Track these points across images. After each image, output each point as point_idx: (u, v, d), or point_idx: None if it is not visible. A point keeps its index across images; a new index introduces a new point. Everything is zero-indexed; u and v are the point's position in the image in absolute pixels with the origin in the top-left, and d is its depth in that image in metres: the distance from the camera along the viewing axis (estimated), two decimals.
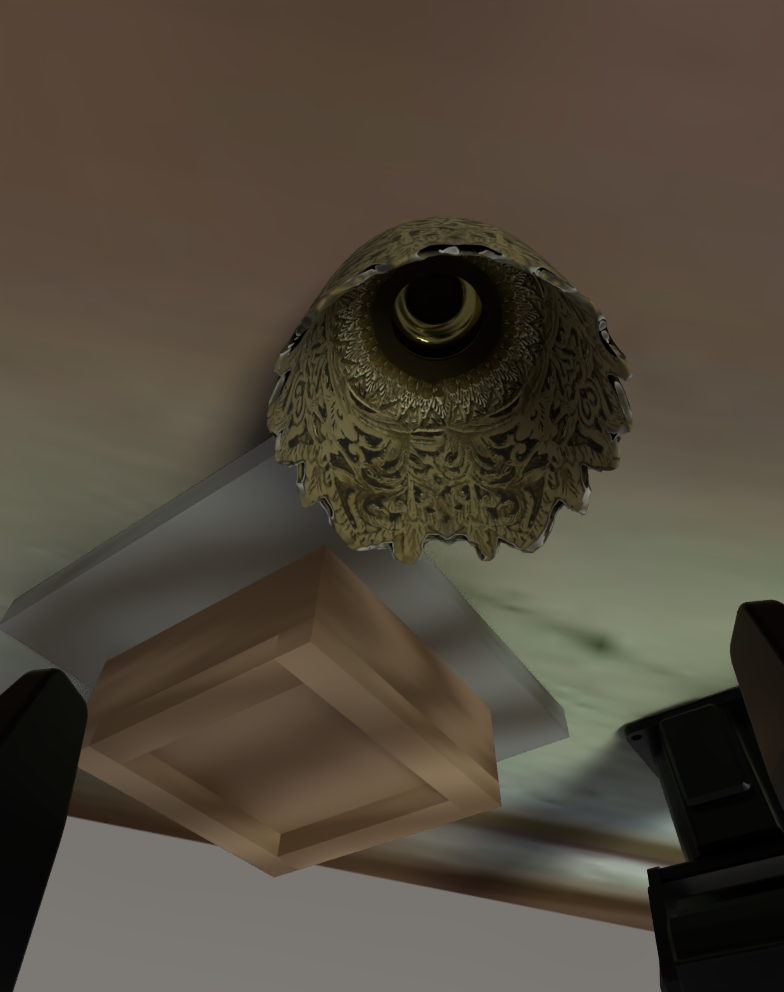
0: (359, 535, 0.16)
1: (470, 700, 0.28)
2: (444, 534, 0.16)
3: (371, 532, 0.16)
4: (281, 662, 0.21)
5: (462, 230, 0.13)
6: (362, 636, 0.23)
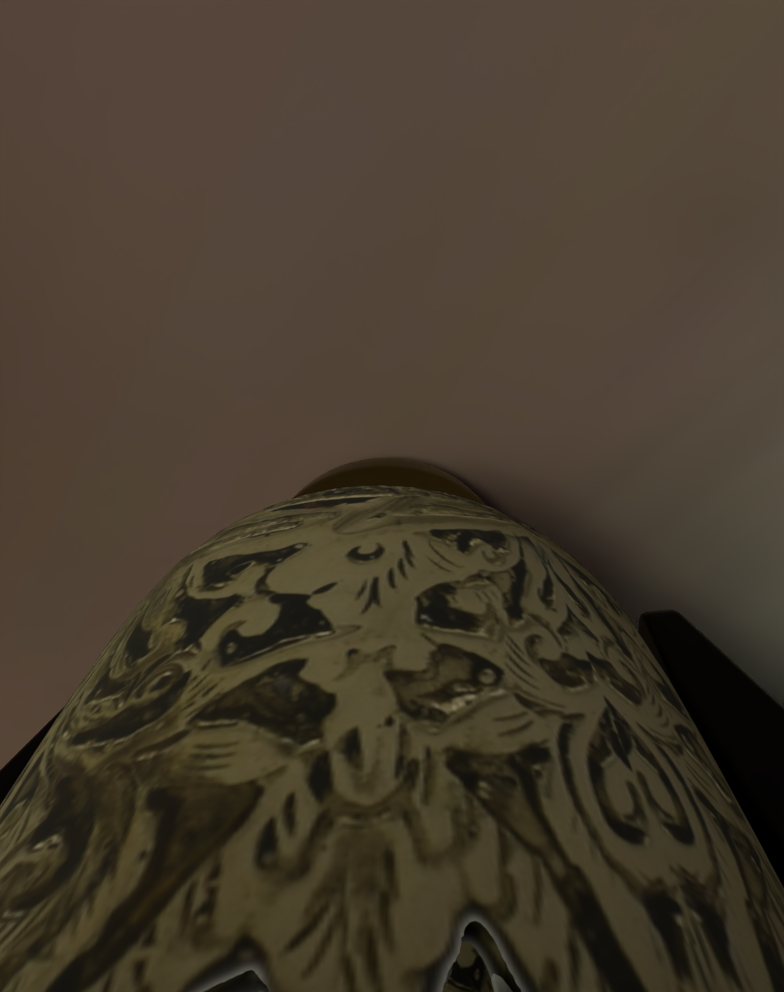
0: None
1: None
2: None
3: None
4: None
5: None
6: None
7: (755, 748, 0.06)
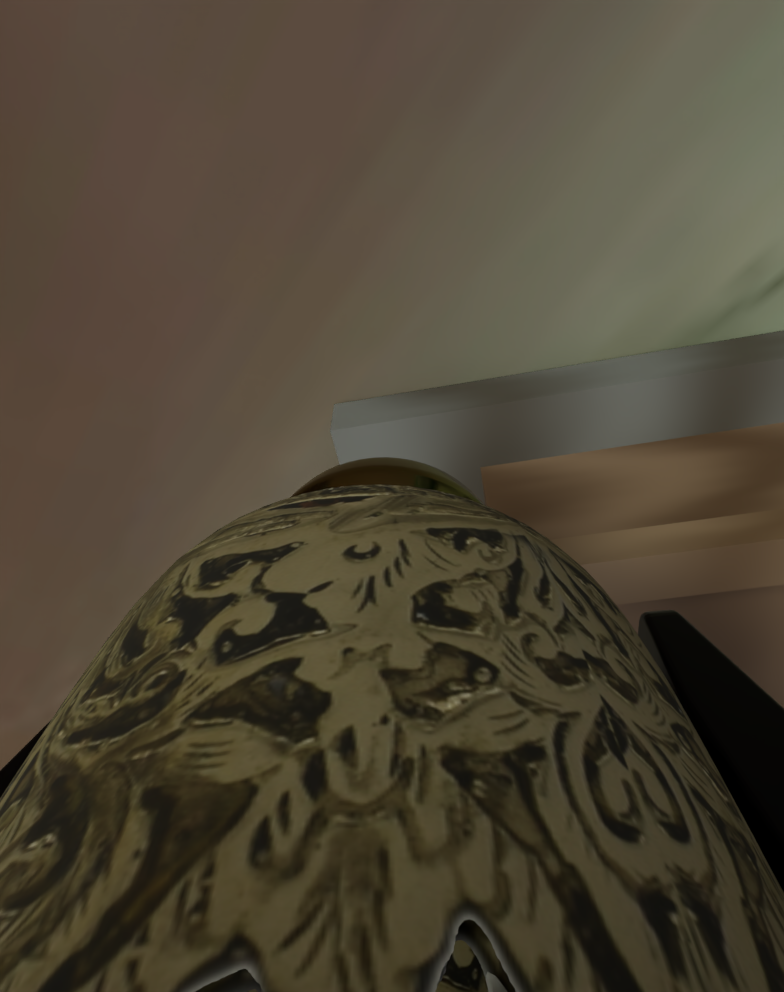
0: None
1: None
2: None
3: None
4: None
5: None
6: (588, 508, 0.17)
7: (755, 748, 0.06)
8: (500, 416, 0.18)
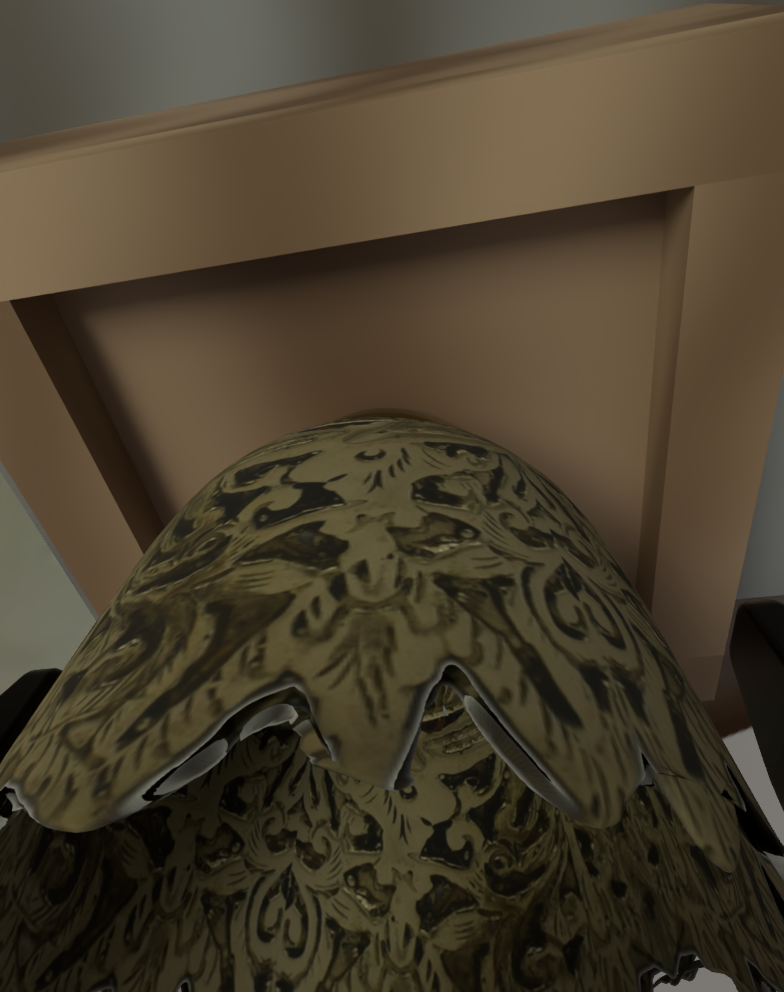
0: None
1: (595, 28, 0.10)
2: (663, 963, 0.07)
3: None
4: None
5: None
6: (85, 139, 0.10)
7: None
8: (1, 24, 0.11)
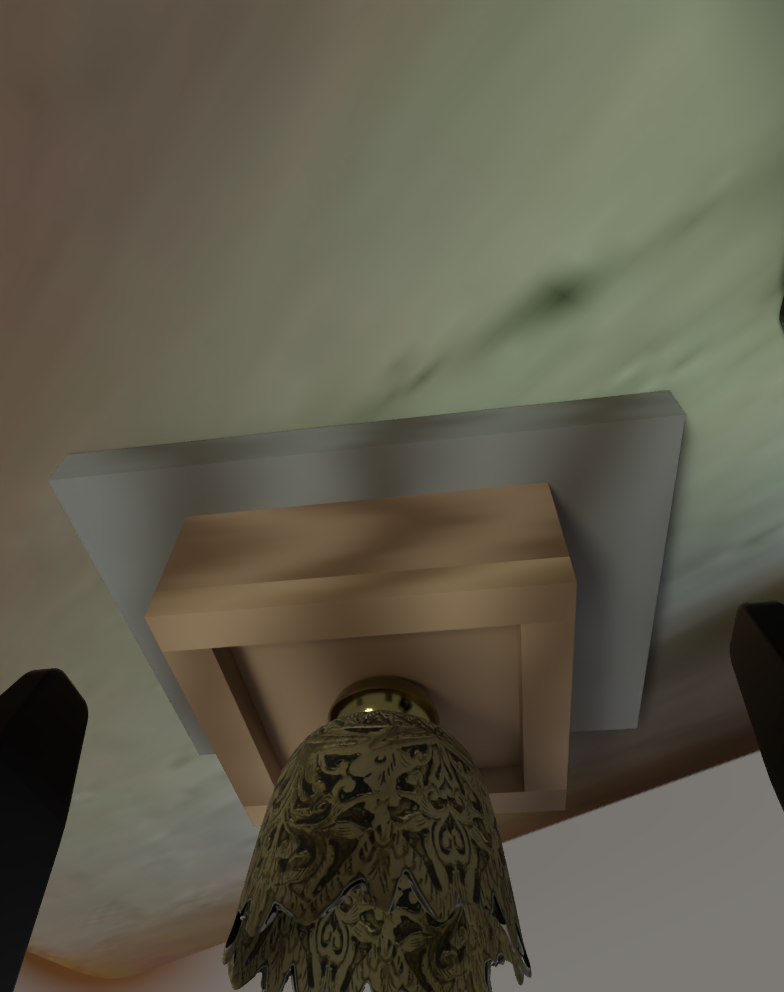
0: None
1: (491, 500, 0.21)
2: (493, 957, 0.18)
3: (449, 990, 0.18)
4: (170, 649, 0.19)
5: (261, 845, 0.17)
6: (244, 561, 0.20)
7: None
8: (192, 476, 0.21)
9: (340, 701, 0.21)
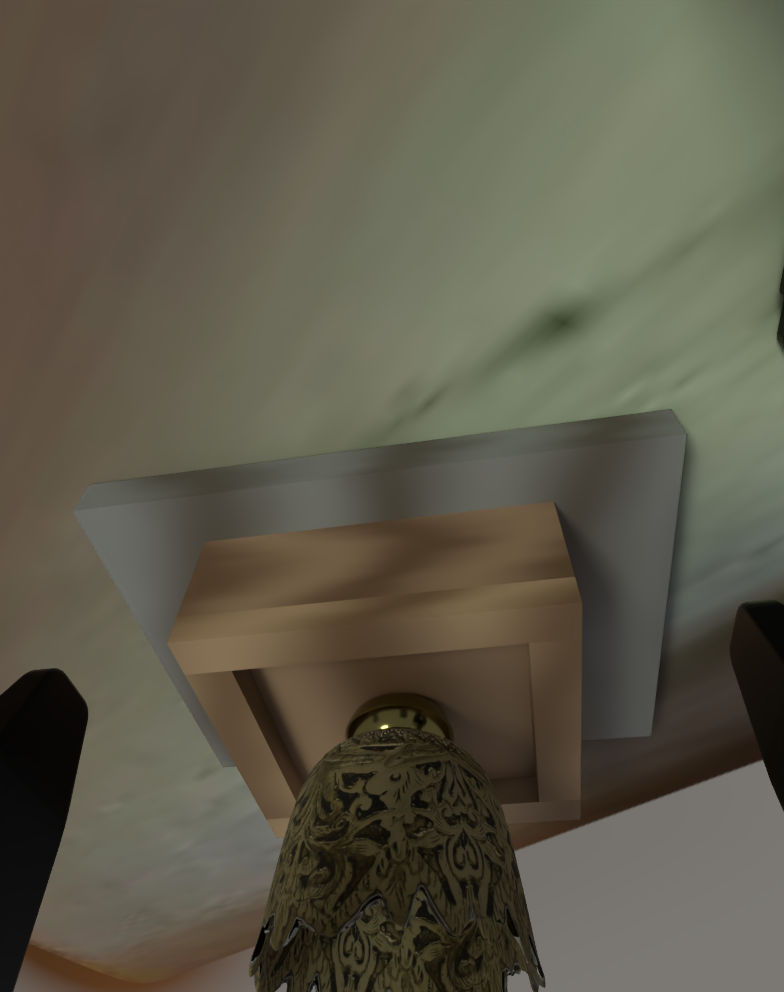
0: None
1: (498, 521, 0.21)
2: (509, 967, 0.18)
3: None
4: (192, 672, 0.20)
5: (283, 861, 0.18)
6: (260, 586, 0.21)
7: None
8: (209, 504, 0.22)
9: (356, 718, 0.22)
